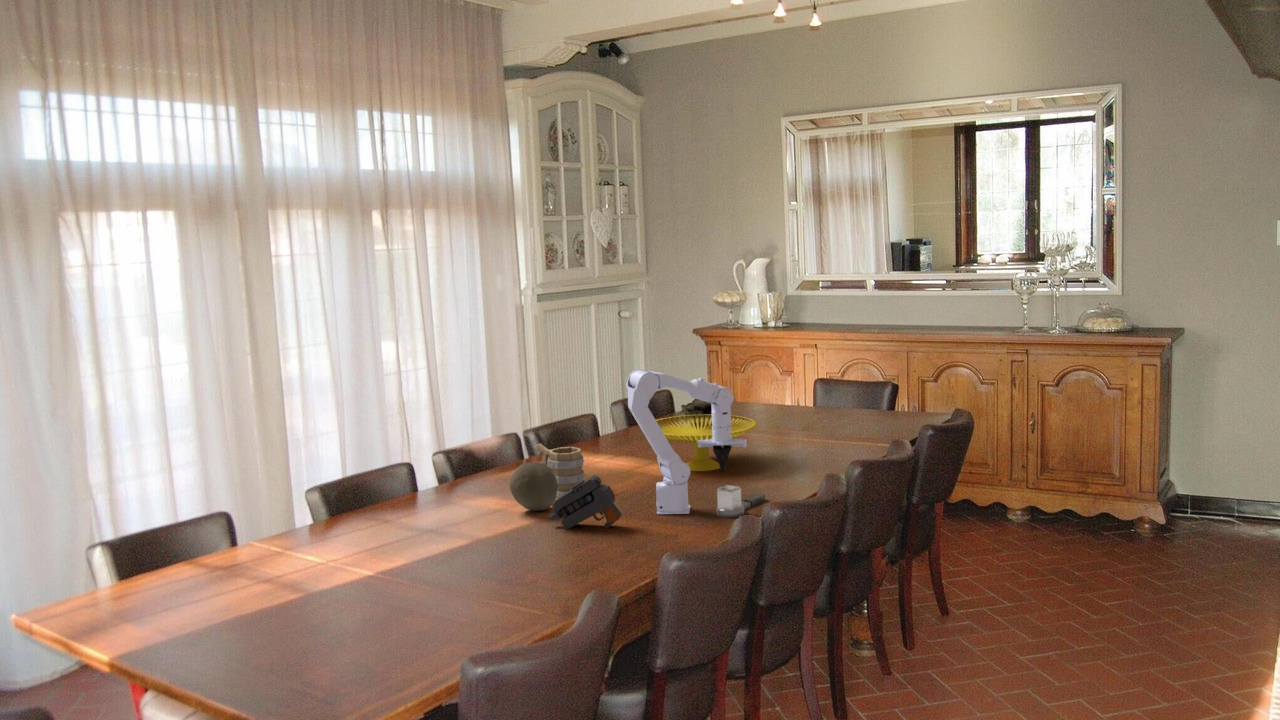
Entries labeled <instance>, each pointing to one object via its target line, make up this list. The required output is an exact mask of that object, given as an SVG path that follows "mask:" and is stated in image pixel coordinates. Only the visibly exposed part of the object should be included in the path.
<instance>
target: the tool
mask: <svg viewBox="0 0 1280 720" xmlns="http://www.w3.org/2000/svg"><path fill="white" fill-rule="evenodd" d="M615 501H616V495H615V493H614V491H613V490H612V488H611V486H610V485H607V484H604V483H602V480H601V478H600V477H599V476H598V475H595V474H593V475H592V476H591V477H588V478H587V479H584V480H583V481H581V482H580V483H578V484H576V485H575V486H574V487H573V488H572V489H571V490H570V491H568V492H566V493H565V494H563V495H562V496H560V497H559V498H558V497H557V498H556V500H555V502H554V503H553V504H552V505H551V508H552V511H553V513H551V514H549V515H548V516H549V517H548V518H549V520H550V521H552V522H553V521H555V520H557V519H558V520H560V519H562V517H563V516H564V515H565V516H564V517H563V519H562V520H561V522H560V524H561V525H562V527H563V528H564V529H566V530H569V529H571V528H572V527H575V526H577V525H578V524H580V523H581V522H584V521H586V520H587V519H589V518H591V517H593V518H594V519H595V520H596V521H598V522H599V521H602V520H603V519H604V518H605V519H606V522H605V523H604V524H603V526H604V527H605V528H606V529H609V528H610V527H611V526H613V524H615V523H616V522H617V521H619V520H620V519H621V517H622V515H623V514H622V512H621V511H620V510H619V508H618V507H617V506H616V504H614V502H615ZM596 514H600V515H601V516H602V517H600V518H599V517H598V516H597V515H596Z"/></svg>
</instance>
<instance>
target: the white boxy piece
mask: <svg viewBox="0 0 1280 720" xmlns="http://www.w3.org/2000/svg"><path fill="white" fill-rule="evenodd" d="M716 494H717V496H716V497H717V498H716V499H717V506H718V509H723V510H730V511H733V510H736V509H738V508H740V507H741V502H742V487H741V486H738V485H729V484H724V485H722V486H720V487H718V488H717V489H716Z"/></svg>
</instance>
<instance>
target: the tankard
mask: <svg viewBox="0 0 1280 720" xmlns="http://www.w3.org/2000/svg"><path fill="white" fill-rule="evenodd" d="M534 449H535V452H539V451H540V452H541V462H540V463H543V464H545V465H547V466H548V467H549V468H550V469H551V470H552V471H553V473H554V475H555V477H556V480H557V483H558V490H557V496H556V498H557V499H558V498H559V497H560V496H562V495H563V494H565V493H566V492H568V491H570V490H571V489H572V488H573V487H574V486H575V485H576V484H578V483H580V482H581V481H583V480H584V481H585V476H586V474H585V470H584V469H583V466H584V462H585V459H584V455H583V454H582V448H581V447H574V446H565V447H562V446H561V447H557V448H556V447H555V448H553V449H552V448H551V449H549V448H547V447H546V446H544V445H543V444H542V443H541V442H540V443H538V444H536V445H535V446H534Z"/></svg>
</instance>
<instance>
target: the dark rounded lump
mask: <svg viewBox="0 0 1280 720" xmlns="http://www.w3.org/2000/svg"><path fill="white" fill-rule="evenodd" d="M680 407H681V411H680V412H679V416H683V417H684V420H685V422H686V424H687V426H688V427H689V424H688V422H687V420H686V418H685V416H684V415H694V422H695V426H696V428H697V423H696V418H695V415H699V414H700V415H704V414H706V415H708V414H712V406H711V403H709V402H705V401H702V400H698V399H693V400H692V401H691V402H689V403H687V404H686V405H685V404H681V406H680ZM700 415H699V427H701V417H700ZM688 417H689V421H690V424H691V426H692V427H693V424H692V421H691V418H690V416H688ZM710 417H711V415H709V418H708V422H707V427H708V425H709V422H710ZM679 419H680V421H681V423H682V424H683V426H684V427H685V425H684V423H683V421H682V420H681V418H680V417H679ZM677 423H678V424H679V426H681V425H680V423H679V422H678V421H677ZM676 426H677V425H676ZM704 426H705V415H704V418H703V427H704ZM711 426H712V423H711ZM677 427H678V426H677ZM681 427H682V426H681Z"/></svg>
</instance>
